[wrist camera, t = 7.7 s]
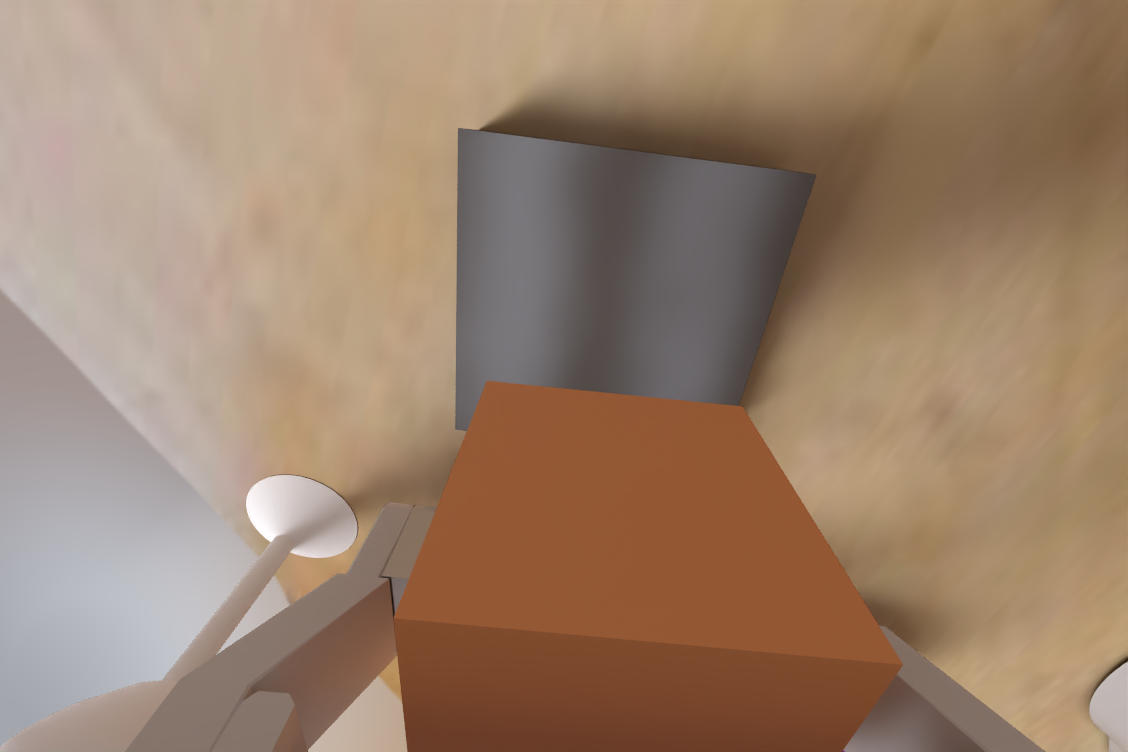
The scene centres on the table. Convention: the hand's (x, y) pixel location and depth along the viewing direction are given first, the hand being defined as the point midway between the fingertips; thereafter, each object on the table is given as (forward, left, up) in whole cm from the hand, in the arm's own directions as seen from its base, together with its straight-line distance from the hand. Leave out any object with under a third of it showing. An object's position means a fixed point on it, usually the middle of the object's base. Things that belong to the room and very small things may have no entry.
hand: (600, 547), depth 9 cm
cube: (0, 0, -2) cm, 2 cm away
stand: (-1, -1, -14) cm, 14 cm away
